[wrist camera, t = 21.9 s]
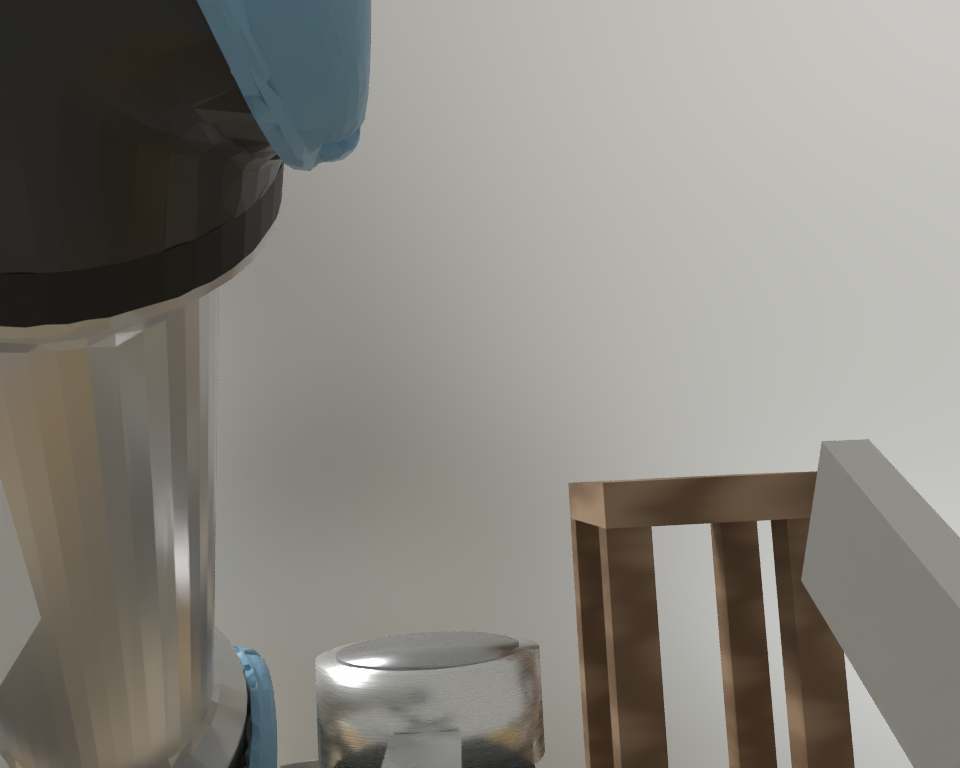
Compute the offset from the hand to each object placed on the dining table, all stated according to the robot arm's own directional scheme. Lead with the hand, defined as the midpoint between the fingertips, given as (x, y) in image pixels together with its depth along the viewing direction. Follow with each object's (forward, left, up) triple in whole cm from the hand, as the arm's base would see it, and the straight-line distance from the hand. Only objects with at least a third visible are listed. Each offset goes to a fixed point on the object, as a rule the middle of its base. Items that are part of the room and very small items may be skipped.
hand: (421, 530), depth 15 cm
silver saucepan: (-1, +16, -10) cm, 19 cm away
